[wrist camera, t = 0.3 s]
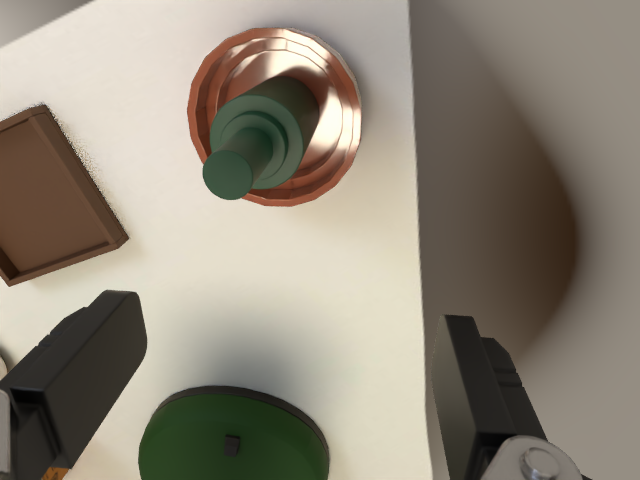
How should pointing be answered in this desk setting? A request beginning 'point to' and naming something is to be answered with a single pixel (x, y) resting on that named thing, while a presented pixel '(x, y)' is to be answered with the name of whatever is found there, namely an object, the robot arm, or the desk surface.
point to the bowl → (292, 61)
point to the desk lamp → (231, 438)
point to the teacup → (2, 369)
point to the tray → (47, 201)
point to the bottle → (260, 137)
